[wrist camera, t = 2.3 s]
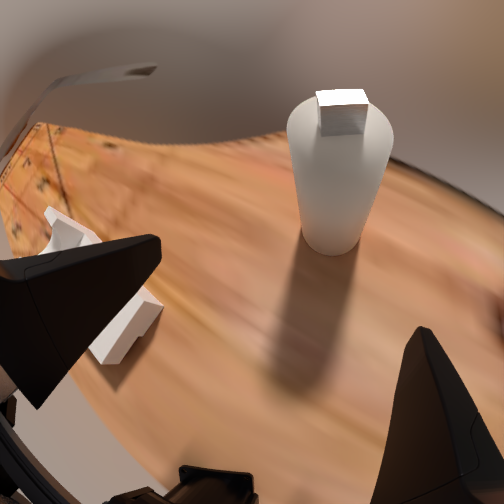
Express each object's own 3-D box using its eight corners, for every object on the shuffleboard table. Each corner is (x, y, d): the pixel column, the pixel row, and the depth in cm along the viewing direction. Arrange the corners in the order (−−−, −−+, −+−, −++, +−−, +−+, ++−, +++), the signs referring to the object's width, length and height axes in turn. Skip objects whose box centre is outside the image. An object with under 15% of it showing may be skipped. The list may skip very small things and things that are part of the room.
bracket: (64, 281, 28) (15, 264, 21) (95, 232, 29) (48, 205, 22) (125, 363, 23) (67, 364, 16) (165, 306, 24) (112, 291, 17)
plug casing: (304, 258, 22) (287, 148, 9) (298, 202, 24) (275, 69, 11) (365, 252, 22) (419, 140, 8) (355, 197, 23) (379, 63, 10)
